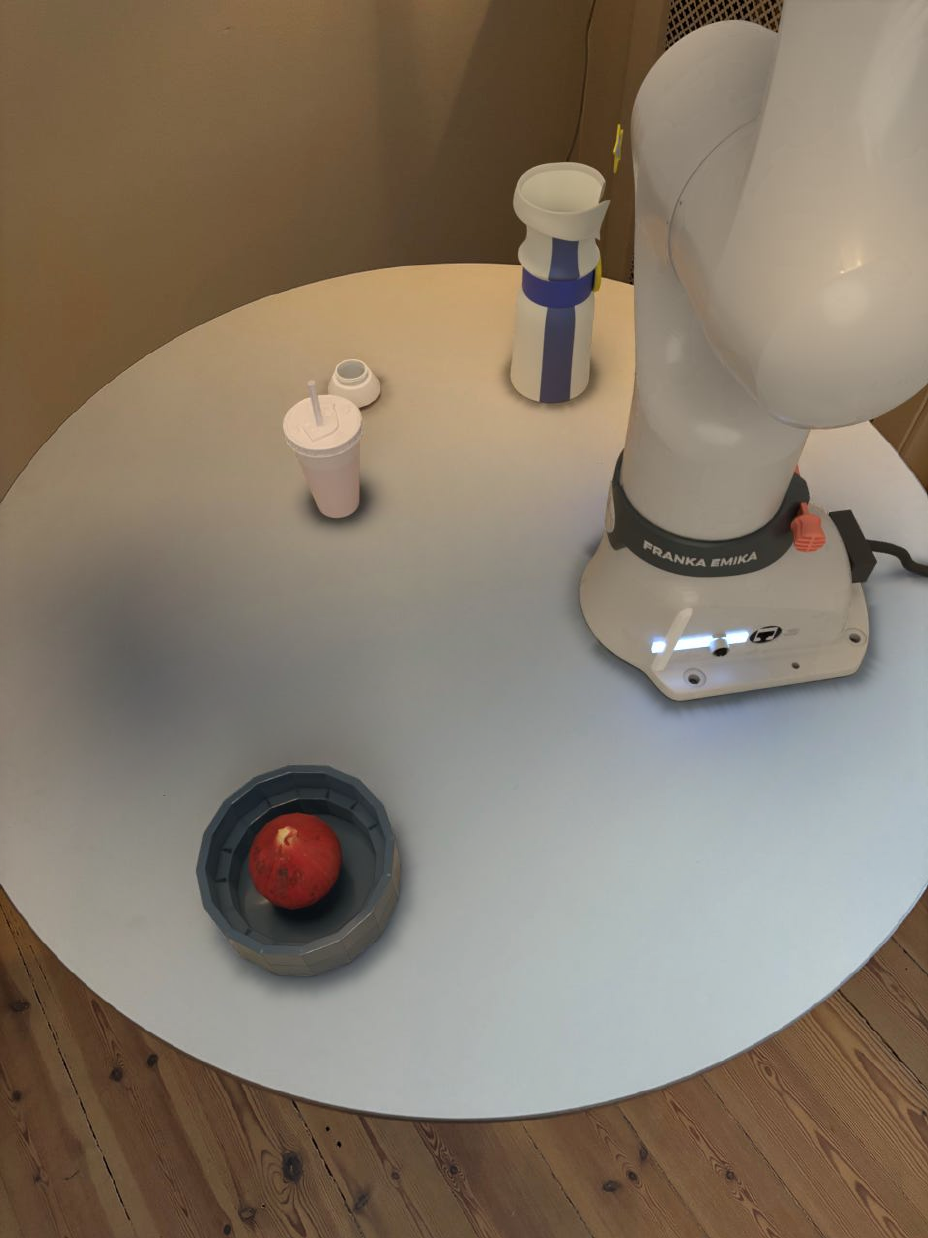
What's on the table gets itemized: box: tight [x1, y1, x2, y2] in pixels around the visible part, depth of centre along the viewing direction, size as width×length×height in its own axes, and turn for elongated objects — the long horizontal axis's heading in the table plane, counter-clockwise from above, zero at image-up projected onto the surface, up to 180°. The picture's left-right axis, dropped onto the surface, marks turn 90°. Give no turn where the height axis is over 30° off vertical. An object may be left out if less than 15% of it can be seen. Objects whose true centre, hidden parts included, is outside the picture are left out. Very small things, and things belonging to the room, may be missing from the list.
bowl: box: [195, 764, 402, 977], centre depth 59 cm, size 12×12×6 cm
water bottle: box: [510, 123, 624, 404], centre depth 79 cm, size 8×9×25 cm
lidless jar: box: [327, 358, 381, 409], centre depth 87 cm, size 5×3×5 cm
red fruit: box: [249, 813, 342, 910], centre depth 58 cm, size 6×6×8 cm
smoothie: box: [282, 380, 365, 519], centre depth 75 cm, size 6×6×14 cm
